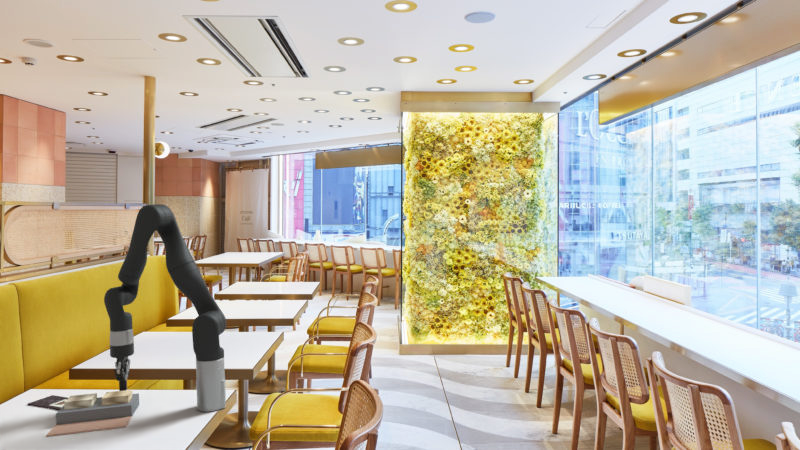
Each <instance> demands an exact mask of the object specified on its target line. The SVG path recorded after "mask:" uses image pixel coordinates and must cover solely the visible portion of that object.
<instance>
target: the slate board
mask: <svg viewBox="0 0 800 450" xmlns="http://www.w3.org/2000/svg"><path fill="white" fill-rule="evenodd" d="M102 397H103V396H100V397H97V401H96V402H95V404H94V405H93V406H92V407H84V408H75V409H66V410H64V406H63V407H62V408H61V409H60V410H57V412H56V413H55V425H60V424H69V423H77V422H86V421H95V420H104V419H112V418H121V417H130V416H131V418H132V417H133V416H134V414H135V412H136V411H137V409H139V408H138V407H139V406H140V394H139V393H132V398H131V400H130V401H129V403H122V404H112V405H103V406H102Z"/></svg>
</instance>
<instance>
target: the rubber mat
mask: <svg viewBox="0 0 800 450" xmlns="http://www.w3.org/2000/svg"><path fill="white" fill-rule="evenodd" d="M131 419H132V417H131V416H130V417H121V418H112V419H104V420H95V421H86V422H77V423H69V424H60V425H56V424H55V425H54V426H53V427H52V428H51V429H50V431H49V432H47V433H46V435H45V437H47V438H48V437H56V436H64V435H65V436H66V435H74V434H79V433H80V434H81V433H87V432H88V433H90V432H99V431H106V430H115V429H122V428H126V427H127V426H128V425H129V423H130V421H131Z"/></svg>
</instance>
